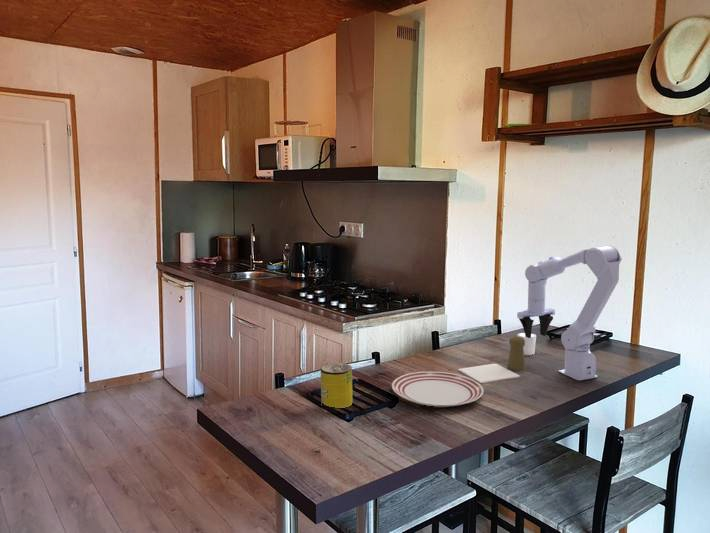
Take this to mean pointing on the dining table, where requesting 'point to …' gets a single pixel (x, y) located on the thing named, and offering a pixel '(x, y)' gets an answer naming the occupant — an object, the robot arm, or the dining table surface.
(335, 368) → the yellow tin can
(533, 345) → the white short cylinder
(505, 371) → the mat
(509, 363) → the olive waisted cylinder
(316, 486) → the dining table surface
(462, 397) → the dinner plate
